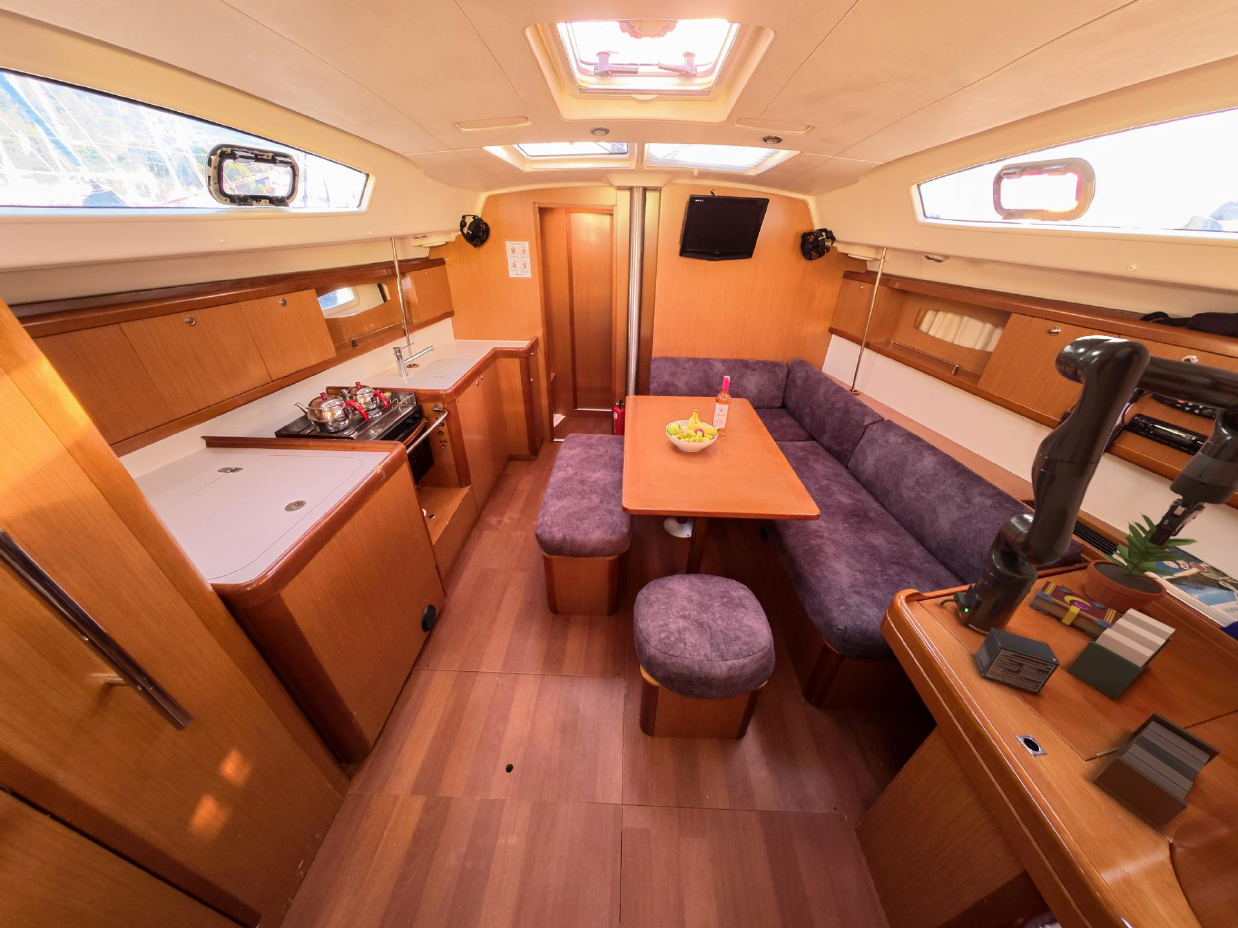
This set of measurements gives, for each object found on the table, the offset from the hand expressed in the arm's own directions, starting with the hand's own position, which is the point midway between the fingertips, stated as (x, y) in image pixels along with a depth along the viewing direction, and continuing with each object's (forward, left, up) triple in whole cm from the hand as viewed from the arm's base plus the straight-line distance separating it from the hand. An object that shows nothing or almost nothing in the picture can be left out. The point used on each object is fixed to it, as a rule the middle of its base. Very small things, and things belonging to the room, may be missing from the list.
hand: (1161, 539), depth 90 cm
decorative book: (+1, +8, -32) cm, 33 cm away
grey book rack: (-8, -39, -32) cm, 51 cm away
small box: (-24, -23, -32) cm, 46 cm away
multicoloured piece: (0, -10, -32) cm, 34 cm away
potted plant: (+14, +22, -32) cm, 42 cm away
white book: (0, -10, -31) cm, 33 cm away
